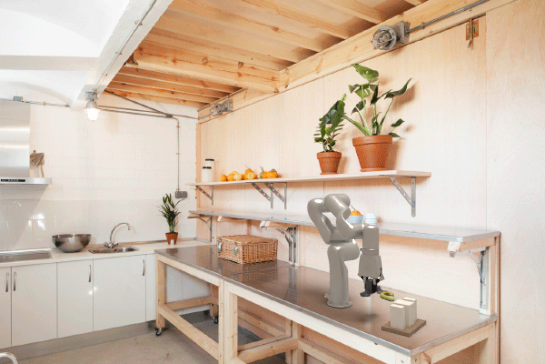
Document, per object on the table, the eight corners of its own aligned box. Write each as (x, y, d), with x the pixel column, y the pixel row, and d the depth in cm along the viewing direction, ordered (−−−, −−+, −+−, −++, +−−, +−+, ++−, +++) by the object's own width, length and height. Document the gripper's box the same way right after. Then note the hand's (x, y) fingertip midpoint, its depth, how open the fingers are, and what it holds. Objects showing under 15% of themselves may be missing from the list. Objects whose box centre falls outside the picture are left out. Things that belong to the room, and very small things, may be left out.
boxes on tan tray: (381, 329, 156) (380, 304, 157) (399, 317, 170) (399, 295, 171) (409, 337, 148) (408, 310, 149) (426, 323, 162) (425, 299, 163)
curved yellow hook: (371, 289, 221) (384, 302, 196) (371, 284, 221) (384, 297, 196) (384, 289, 221) (399, 301, 196) (384, 284, 221) (399, 296, 196)
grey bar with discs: (357, 295, 166) (357, 282, 166) (374, 288, 178) (374, 275, 178) (367, 297, 163) (366, 284, 163) (383, 290, 175) (383, 277, 175)
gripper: (350, 250, 173) (350, 290, 173) (383, 255, 162) (383, 297, 162) (358, 248, 178) (358, 286, 178) (391, 253, 168) (391, 293, 168)
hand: (370, 291), depth 170 cm, fingers closed on grey bar with discs, 3 cm apart
